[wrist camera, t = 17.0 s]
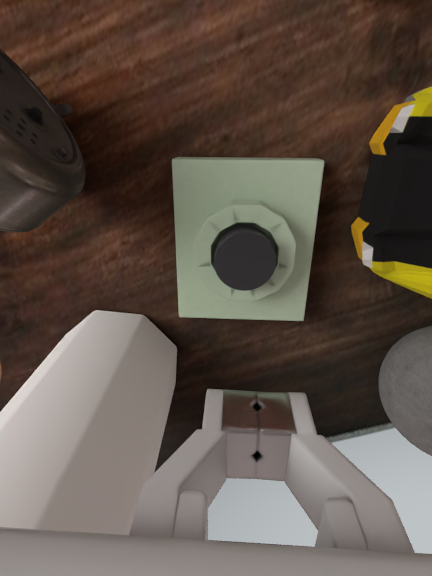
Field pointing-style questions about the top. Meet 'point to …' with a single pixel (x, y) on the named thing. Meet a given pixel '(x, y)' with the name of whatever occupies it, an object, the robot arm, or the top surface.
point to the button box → (245, 212)
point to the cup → (87, 427)
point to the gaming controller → (400, 197)
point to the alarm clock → (33, 153)
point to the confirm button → (244, 258)
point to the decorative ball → (409, 387)
